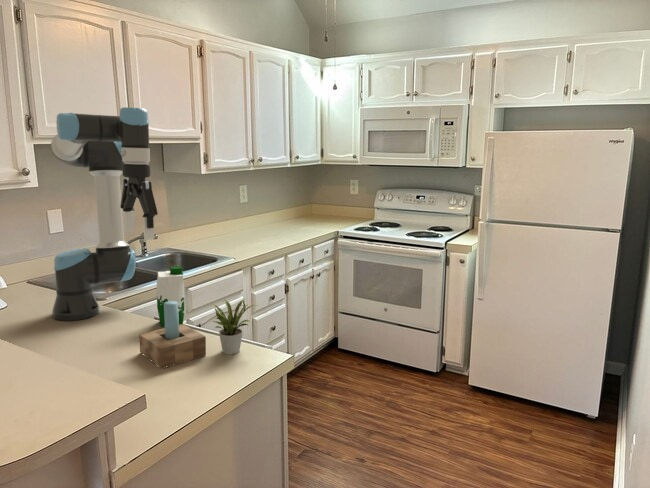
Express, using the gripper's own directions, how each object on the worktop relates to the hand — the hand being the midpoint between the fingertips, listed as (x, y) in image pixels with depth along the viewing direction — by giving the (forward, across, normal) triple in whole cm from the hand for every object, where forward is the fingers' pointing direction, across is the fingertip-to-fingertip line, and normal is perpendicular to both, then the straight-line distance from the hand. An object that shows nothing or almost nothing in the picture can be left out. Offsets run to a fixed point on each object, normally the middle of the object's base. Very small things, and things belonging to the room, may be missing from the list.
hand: (139, 236), depth 145 cm
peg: (+35, +11, +4) cm, 37 cm away
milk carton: (+35, -14, +16) cm, 41 cm away
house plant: (+35, +20, +20) cm, 45 cm away
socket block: (+35, +11, +4) cm, 37 cm away
